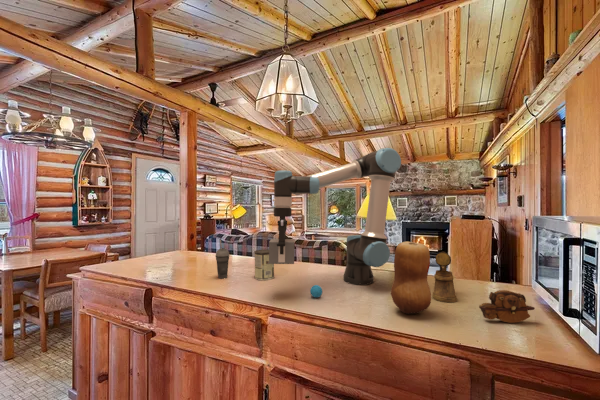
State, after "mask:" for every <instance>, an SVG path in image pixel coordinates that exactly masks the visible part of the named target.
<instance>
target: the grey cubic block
mask: <svg viewBox="0 0 600 400" xmlns="http://www.w3.org/2000/svg"><path fill="white" fill-rule="evenodd" d="M278 243H279V238H271V239H270V240H269V242H268V250H269V264H274V265H294V264H295V239H294V238H291V239H289V238H286V239H285V262H278V246H277V244H278Z"/></svg>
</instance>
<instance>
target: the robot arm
mask: <svg viewBox="0 0 600 400" xmlns="http://www.w3.org/2000/svg"><path fill="white" fill-rule="evenodd" d="M401 166H402V158H401V156H400V154H399V153H398V151H397V150H395V148H391V147H385V148H380V149H378V150H375V151H371V152H370V153H367V154H365V155H363V156H360V157H358V158H356V159H353V160H352V161H351V162H349V163H347V164H342V165H339V166H336V167H333V168H330V169H326V170H323V171H320V172H316V173H313V174H310V175H306V176H302V175H301V176H300V175H298V176H297V175H293V172H292V171H291V170H287V169H286V170H284V169H283V170H279V169H278V170H276V171H275V172H274V179H273V199H272V202H273V206H274V208H273V216H274V217H278V218H279V220H277V231H278V239H279V243H278V244H277V246H278V262H285V239H287V237H286V236H287V235H286V234H287V233H286V232H287V229H288V227H287V226H288V220H287V219H286V217H289V218H290V217H292V211H293V209H292V206H293V205H292V204H293V201H292V200H293V198H292V197H293V196H292V195H296V196H299V195H314V194H315V195H316V194H318V192H319V191H320V189H321V188H326V187H329V186H333V185H335V184H338V183H342V182H345V181H348V180H352V179H355V178H356V179H361V178H362V179H363V178H364V177H366V178H367V177H368V178H369V179H370V180H371V181H370V190H369V196H368V197H369V198H368V205H367V211H366V212H367V213H366V221H365V228H364V231H363V232H362V233H360V234H354V235H347V237H346V242H345V245H346V267H345V269H344V273H343V276H342V277H343V278H342V281H343V282H345V283H348V284H351V285H361V286H362V285H370V284H373V283H374V282H375V275H374V273H373V270H372V267H373V268H380V267H383V266H384V265H385V264H386V263H387V262H388V261H389V259H390V256H391V250H390V248H389V246H388V244H387V240H388V237H387V236H386V235H385V228H386V220H387V212H388V206H389V198H390V197H389V195H390V189H391V182H393V181H394V180H395V178H396V177H395V176H396V172H398V170H400V168H401Z"/></svg>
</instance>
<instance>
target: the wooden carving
mask: <svg viewBox="0 0 600 400" xmlns="http://www.w3.org/2000/svg"><path fill="white" fill-rule="evenodd" d="M488 299H489V300H490V302H483V303H481V304H479V305H478V308H479V309H480V312H481V313H482V316H483V318H485V319H487V320H489V321H491V320H495V319H497V320H499V321H501V322H504V323H510V324H511V323H512V324H513V323H514V324H515V323H520V322H523V321H525V320H527V319H529V318H530V317H531V314H530V313H529V311H535V309H536V307H534V306H531V305H528V304H527V303H526V302H527V299H526V297H525V295H524V294H521V293H520V292H518V293H517V292H515V291H510V290H507V289H502V290H501V289H499V290H497V291H494V292H493V291H490V293H489V295H488Z"/></svg>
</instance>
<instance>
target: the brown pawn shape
mask: <svg viewBox="0 0 600 400" xmlns="http://www.w3.org/2000/svg"><path fill="white" fill-rule="evenodd" d="M435 263H436V264H437V265H438V266H439V269H437V270H435V273H434V283H433V285H434V286H433V290H432V293H431V298H432V299H434V300H435V301H438V302H441V303H456V302H458V301H457V300H458V299H457V295H456V291H455V285H454V283H455V282H454V275H453V272H452V271H450V270H447V267H448V266H449V265H450V264H451V263H452V257H451V256H450V255H449V253H447V252H446V251H441V252H438V253H437V254H436V255H435Z"/></svg>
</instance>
